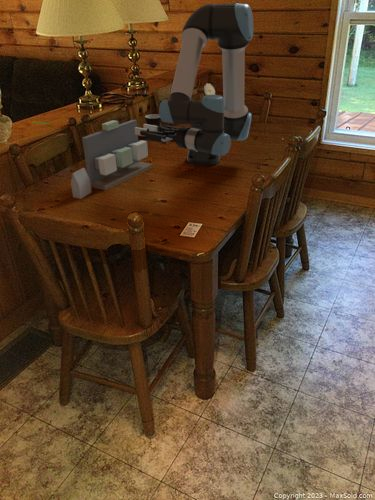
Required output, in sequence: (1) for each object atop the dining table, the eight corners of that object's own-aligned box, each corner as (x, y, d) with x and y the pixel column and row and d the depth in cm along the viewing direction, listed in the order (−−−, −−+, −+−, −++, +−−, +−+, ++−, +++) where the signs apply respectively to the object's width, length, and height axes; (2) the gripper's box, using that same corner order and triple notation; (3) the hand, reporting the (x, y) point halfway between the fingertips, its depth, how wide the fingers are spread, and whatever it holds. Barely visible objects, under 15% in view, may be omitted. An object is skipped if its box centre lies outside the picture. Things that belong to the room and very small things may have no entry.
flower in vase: (198, 135, 231) (198, 86, 218) (188, 130, 240) (187, 83, 227) (219, 132, 236) (220, 84, 223) (208, 127, 245) (209, 80, 232)
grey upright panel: (152, 167, 192) (148, 116, 181) (105, 190, 171) (98, 134, 160) (125, 161, 200) (120, 111, 188) (77, 182, 179) (68, 128, 168)
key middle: (133, 162, 181) (131, 147, 178) (122, 167, 177) (121, 152, 173) (118, 159, 186) (116, 144, 182) (107, 163, 181) (105, 148, 178)
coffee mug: (160, 137, 230) (159, 118, 225) (144, 136, 232) (143, 118, 226) (165, 131, 240) (164, 113, 234) (150, 130, 241) (149, 112, 236)
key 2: (148, 156, 188) (147, 141, 185) (138, 160, 184) (137, 145, 180) (133, 152, 193) (131, 138, 189) (123, 156, 188) (122, 142, 185)
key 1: (116, 170, 174) (115, 154, 171) (105, 175, 170) (103, 159, 167) (101, 166, 179) (99, 151, 175) (90, 171, 174) (88, 155, 171)
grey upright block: (91, 192, 171) (88, 168, 165) (80, 198, 166) (76, 174, 160) (84, 190, 172) (80, 166, 167) (73, 197, 167) (69, 172, 162)
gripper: (175, 155, 151) (125, 144, 162) (203, 142, 163) (154, 133, 175) (175, 134, 147) (123, 124, 159) (203, 122, 159) (153, 114, 171)
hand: (140, 129), depth 167 cm, fingers open, 4 cm apart
